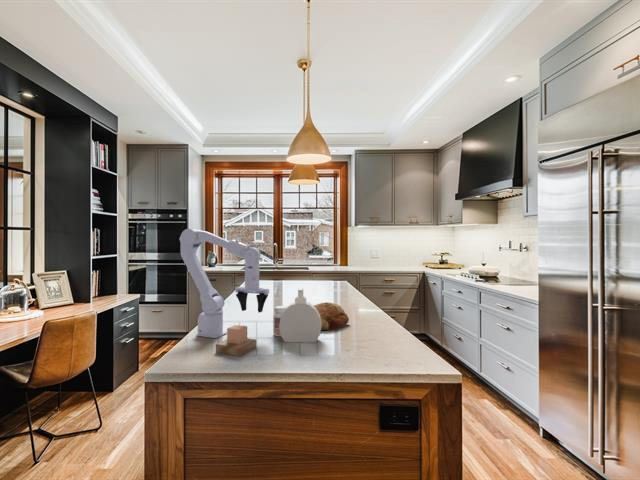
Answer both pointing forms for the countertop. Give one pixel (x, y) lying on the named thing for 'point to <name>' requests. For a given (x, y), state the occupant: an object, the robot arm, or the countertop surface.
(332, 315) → the bread
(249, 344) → the walnut base
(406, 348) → the countertop surface
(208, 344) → the countertop surface
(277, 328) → the pill bottle
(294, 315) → the soap bottle
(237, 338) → the terracotta block
